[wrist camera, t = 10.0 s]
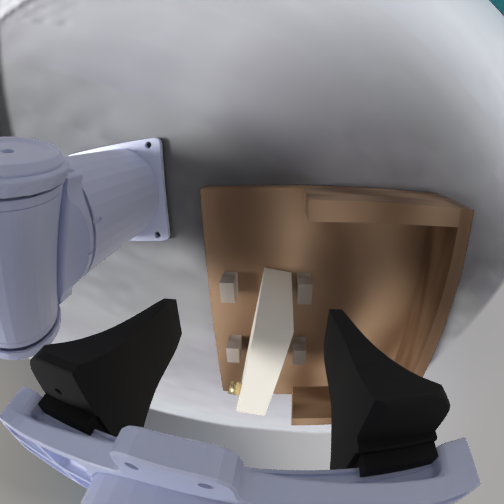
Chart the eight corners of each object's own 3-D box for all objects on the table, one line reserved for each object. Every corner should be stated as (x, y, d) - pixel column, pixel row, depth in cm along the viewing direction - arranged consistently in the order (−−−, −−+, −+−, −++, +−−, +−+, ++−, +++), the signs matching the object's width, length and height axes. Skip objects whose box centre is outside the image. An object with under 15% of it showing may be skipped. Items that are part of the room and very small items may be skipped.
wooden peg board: (225, 382, 27) (215, 420, 23) (204, 186, 20) (180, 201, 15) (390, 380, 26) (401, 415, 21) (437, 193, 18) (473, 210, 13)
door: (238, 346, 24) (224, 408, 17) (253, 265, 21) (240, 322, 14) (270, 352, 24) (264, 415, 17) (291, 272, 21) (293, 331, 14)
